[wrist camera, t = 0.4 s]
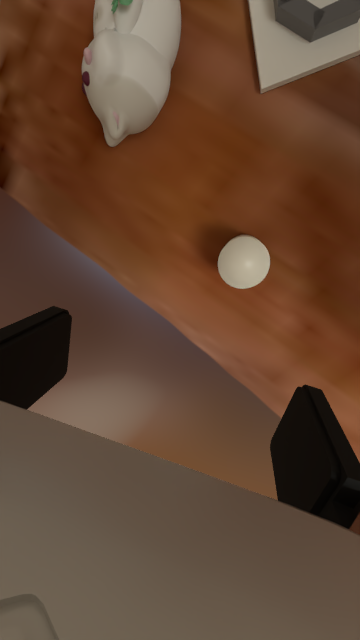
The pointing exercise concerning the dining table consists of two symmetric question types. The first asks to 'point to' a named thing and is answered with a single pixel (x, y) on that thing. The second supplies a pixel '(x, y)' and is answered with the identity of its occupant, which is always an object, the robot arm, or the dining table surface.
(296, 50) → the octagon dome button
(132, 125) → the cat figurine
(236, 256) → the cream cap
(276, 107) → the dining table surface
